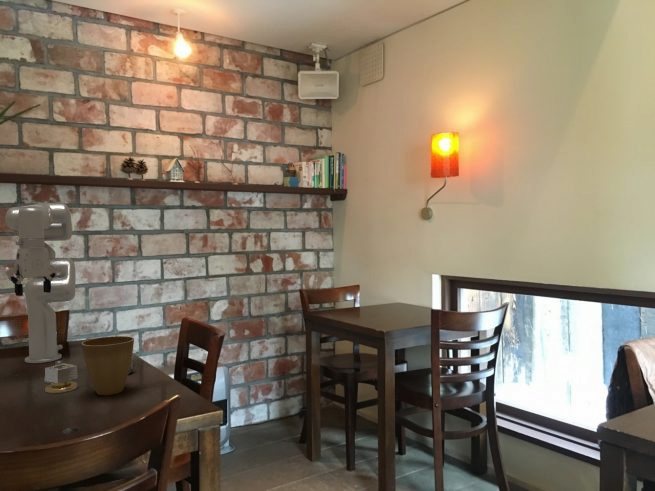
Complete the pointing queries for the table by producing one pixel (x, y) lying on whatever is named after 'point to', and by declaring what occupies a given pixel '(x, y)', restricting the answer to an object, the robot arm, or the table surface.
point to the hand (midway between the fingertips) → (33, 294)
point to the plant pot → (108, 362)
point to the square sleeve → (60, 373)
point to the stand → (55, 364)
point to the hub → (61, 387)
